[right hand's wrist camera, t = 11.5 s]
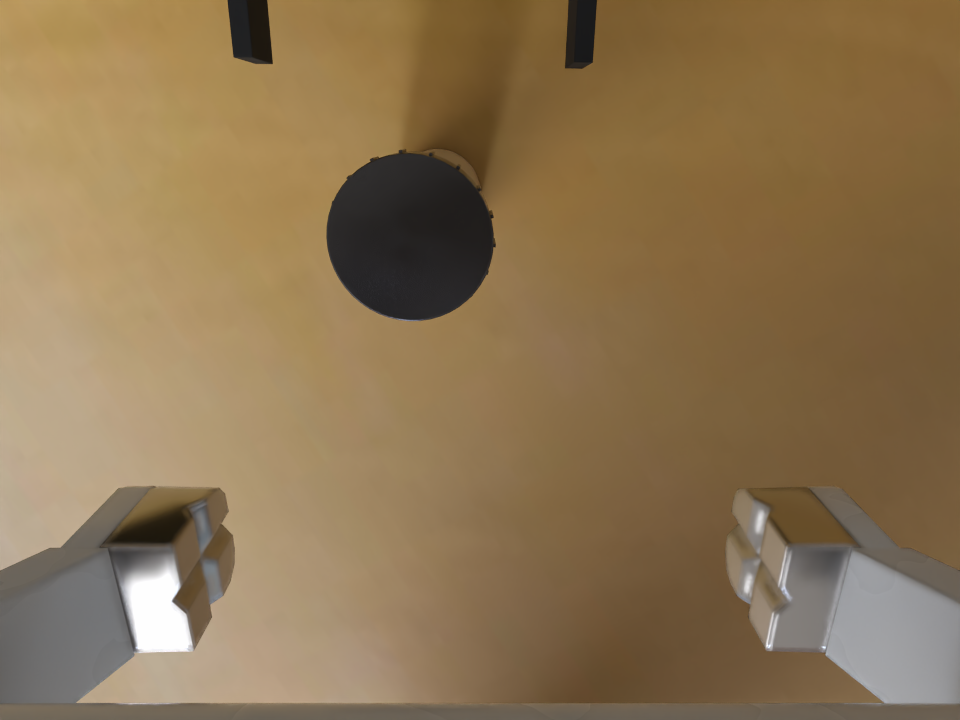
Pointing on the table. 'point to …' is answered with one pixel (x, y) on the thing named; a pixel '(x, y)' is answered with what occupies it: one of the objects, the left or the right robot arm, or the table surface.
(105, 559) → the right robot arm
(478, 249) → the lid
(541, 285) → the table surface
